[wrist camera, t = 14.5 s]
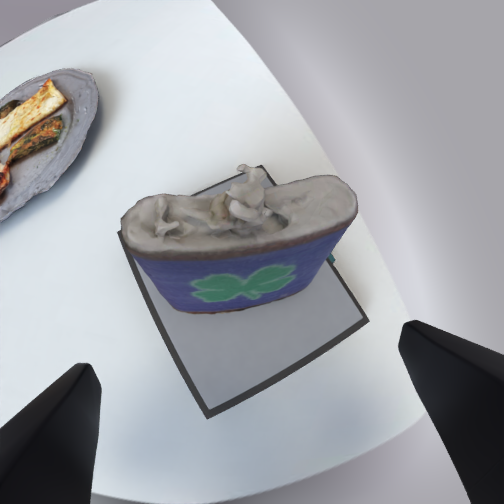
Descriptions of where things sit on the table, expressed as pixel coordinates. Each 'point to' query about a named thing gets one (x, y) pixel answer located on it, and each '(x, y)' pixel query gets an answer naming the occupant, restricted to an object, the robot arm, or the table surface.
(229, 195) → the flask
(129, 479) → the table surface
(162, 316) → the scale
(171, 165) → the table surface
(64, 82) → the food plate
